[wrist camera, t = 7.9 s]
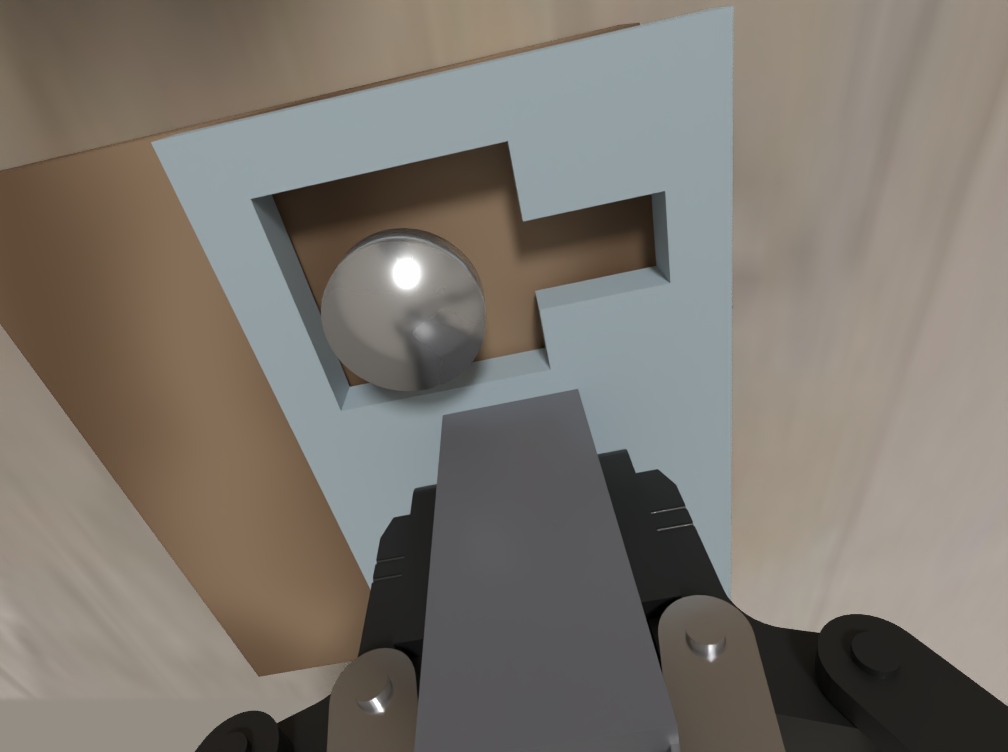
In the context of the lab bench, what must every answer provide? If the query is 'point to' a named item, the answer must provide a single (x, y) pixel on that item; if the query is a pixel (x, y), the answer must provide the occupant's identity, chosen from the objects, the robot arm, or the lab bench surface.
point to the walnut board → (233, 364)
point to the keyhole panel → (515, 368)
